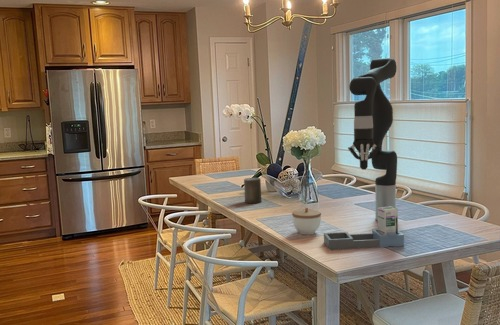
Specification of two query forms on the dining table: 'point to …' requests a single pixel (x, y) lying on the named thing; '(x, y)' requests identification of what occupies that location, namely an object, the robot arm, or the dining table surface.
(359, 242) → the frame
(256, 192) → the pillar candle
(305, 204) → the dining table surface
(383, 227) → the syrup box
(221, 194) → the dining table surface
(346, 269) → the dining table surface
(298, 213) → the lidded bowl
